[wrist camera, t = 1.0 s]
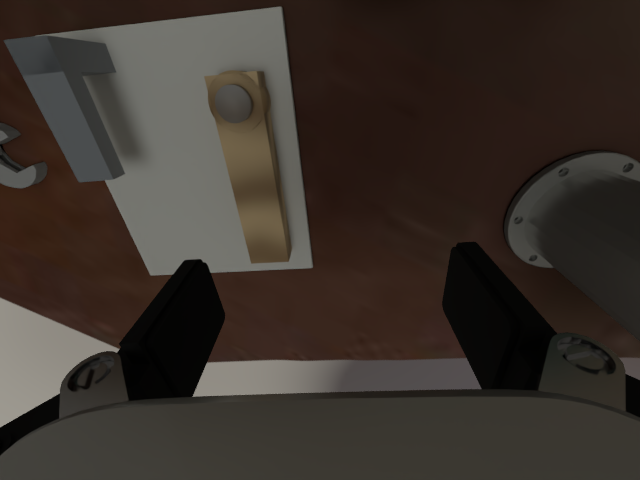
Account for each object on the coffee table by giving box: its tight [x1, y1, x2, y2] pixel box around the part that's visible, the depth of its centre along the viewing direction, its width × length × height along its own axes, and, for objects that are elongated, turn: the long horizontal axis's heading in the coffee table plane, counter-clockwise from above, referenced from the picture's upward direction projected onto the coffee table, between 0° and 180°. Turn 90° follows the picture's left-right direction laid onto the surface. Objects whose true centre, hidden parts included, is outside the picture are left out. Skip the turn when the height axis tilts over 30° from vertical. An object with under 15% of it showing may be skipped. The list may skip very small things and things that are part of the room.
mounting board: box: [4, 7, 313, 275], centre depth 26 cm, size 20×24×6 cm
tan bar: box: [204, 70, 292, 264], centre depth 26 cm, size 17×4×4 cm, turn 5°
